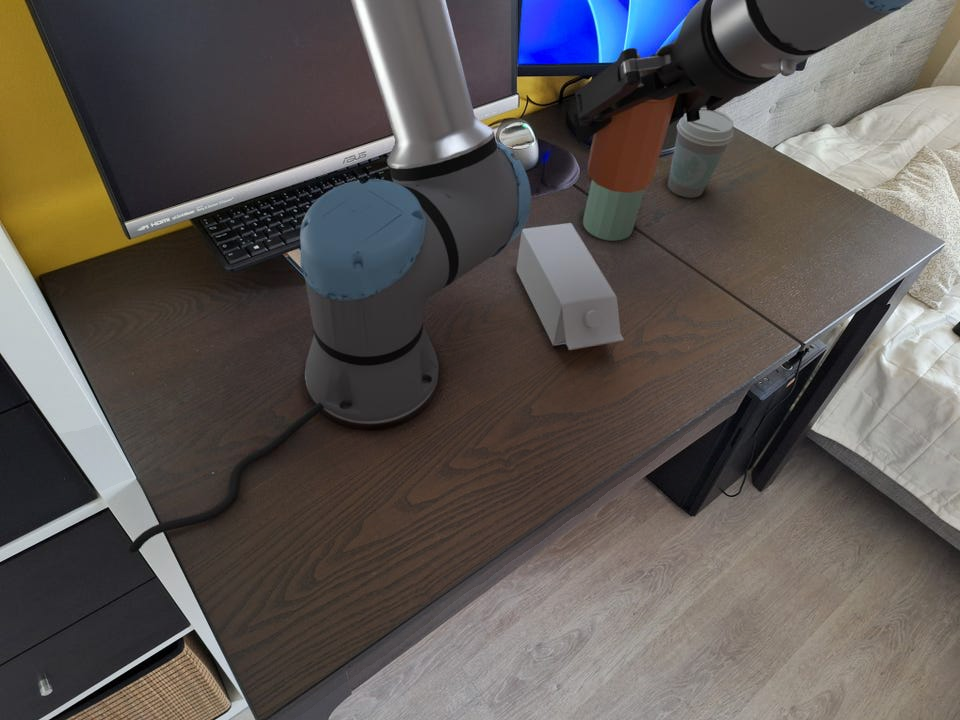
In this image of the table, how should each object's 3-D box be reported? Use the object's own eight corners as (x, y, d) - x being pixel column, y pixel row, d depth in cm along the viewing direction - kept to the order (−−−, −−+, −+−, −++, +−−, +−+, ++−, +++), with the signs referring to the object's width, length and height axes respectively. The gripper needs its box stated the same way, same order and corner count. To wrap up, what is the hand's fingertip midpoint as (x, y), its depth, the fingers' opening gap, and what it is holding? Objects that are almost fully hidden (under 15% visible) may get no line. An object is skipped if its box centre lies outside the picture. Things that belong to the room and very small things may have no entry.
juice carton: (562, 263, 95) (617, 359, 83) (515, 269, 93) (564, 369, 81) (571, 221, 90) (630, 318, 78) (521, 228, 88) (574, 328, 76)
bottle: (600, 245, 98) (625, 147, 86) (573, 216, 103) (593, 119, 91) (642, 234, 101) (672, 137, 89) (614, 206, 105) (639, 110, 93)
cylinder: (609, 197, 66) (633, 101, 59) (575, 163, 70) (594, 68, 62) (663, 185, 68) (693, 90, 61) (628, 152, 72) (651, 59, 65)
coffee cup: (649, 179, 111) (669, 111, 102) (688, 168, 114) (711, 101, 105) (682, 207, 106) (706, 138, 97) (722, 195, 109) (749, 127, 100)
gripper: (630, 90, 44) (526, 170, 67) (876, 73, 49) (702, 154, 71) (616, -27, 44) (516, 94, 66) (867, -33, 48) (694, 82, 71)
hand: (613, 125), depth 69 cm, fingers closed on cylinder, 7 cm apart
